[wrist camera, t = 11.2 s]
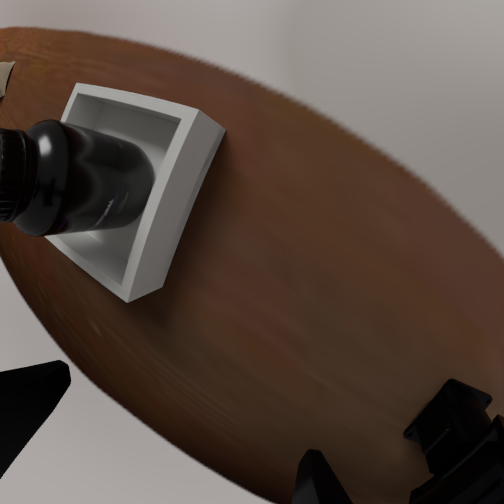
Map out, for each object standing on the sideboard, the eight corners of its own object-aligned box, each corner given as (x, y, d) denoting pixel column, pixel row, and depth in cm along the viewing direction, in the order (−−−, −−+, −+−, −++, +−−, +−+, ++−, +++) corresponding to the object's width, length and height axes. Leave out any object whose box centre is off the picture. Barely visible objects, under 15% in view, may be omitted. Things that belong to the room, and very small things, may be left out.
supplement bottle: (144, 239, 20) (0, 267, 9) (86, 214, 21) (-36, 225, 10) (167, 147, 19) (24, 106, 7) (104, 136, 20) (-18, 110, 9)
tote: (226, 130, 19) (199, 109, 14) (162, 287, 21) (127, 303, 17) (110, 96, 21) (76, 82, 16) (67, 221, 24) (32, 225, 19)
